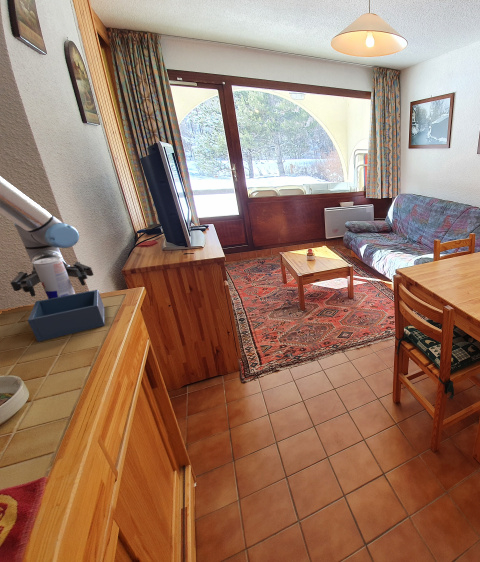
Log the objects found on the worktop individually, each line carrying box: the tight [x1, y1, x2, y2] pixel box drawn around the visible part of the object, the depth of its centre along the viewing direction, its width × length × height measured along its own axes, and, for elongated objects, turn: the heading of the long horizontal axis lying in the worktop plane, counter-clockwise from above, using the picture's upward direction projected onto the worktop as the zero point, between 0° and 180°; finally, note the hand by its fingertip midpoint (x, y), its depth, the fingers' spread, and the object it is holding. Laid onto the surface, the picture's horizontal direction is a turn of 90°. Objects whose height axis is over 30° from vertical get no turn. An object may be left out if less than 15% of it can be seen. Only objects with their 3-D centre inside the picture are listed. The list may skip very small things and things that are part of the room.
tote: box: [27, 289, 106, 343], centre depth 82 cm, size 13×13×6 cm
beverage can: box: [33, 257, 76, 299], centre depth 88 cm, size 6×6×15 cm
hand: (57, 286), depth 85 cm, fingers open, 9 cm apart
